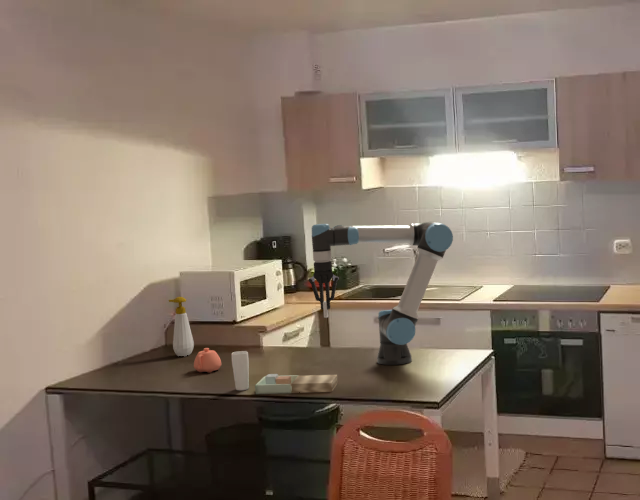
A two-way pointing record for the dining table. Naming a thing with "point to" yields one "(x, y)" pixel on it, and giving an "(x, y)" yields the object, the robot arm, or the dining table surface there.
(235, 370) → the drinking glass
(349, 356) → the dining table surface
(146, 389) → the dining table surface
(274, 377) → the tile grey
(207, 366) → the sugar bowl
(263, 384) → the tray
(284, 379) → the salmon pink block
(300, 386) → the board
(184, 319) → the soap bottle
